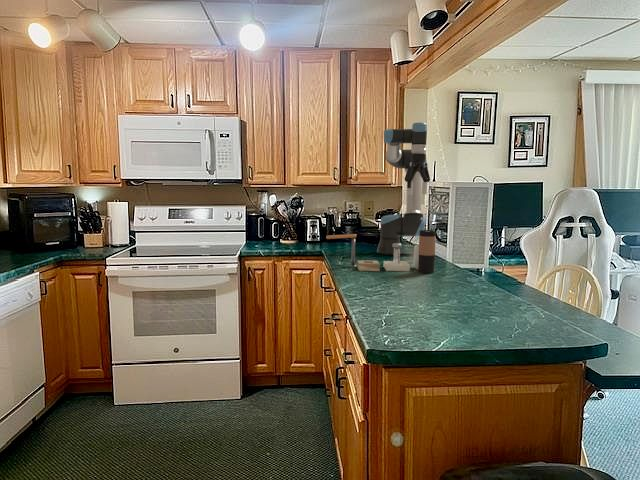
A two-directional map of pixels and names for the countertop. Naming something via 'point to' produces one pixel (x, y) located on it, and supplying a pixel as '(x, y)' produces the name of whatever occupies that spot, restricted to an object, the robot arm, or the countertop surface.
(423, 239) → the travel mug
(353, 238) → the keeper post
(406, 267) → the tray
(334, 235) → the bar
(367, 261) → the block
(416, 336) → the countertop surface
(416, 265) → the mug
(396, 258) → the pin
